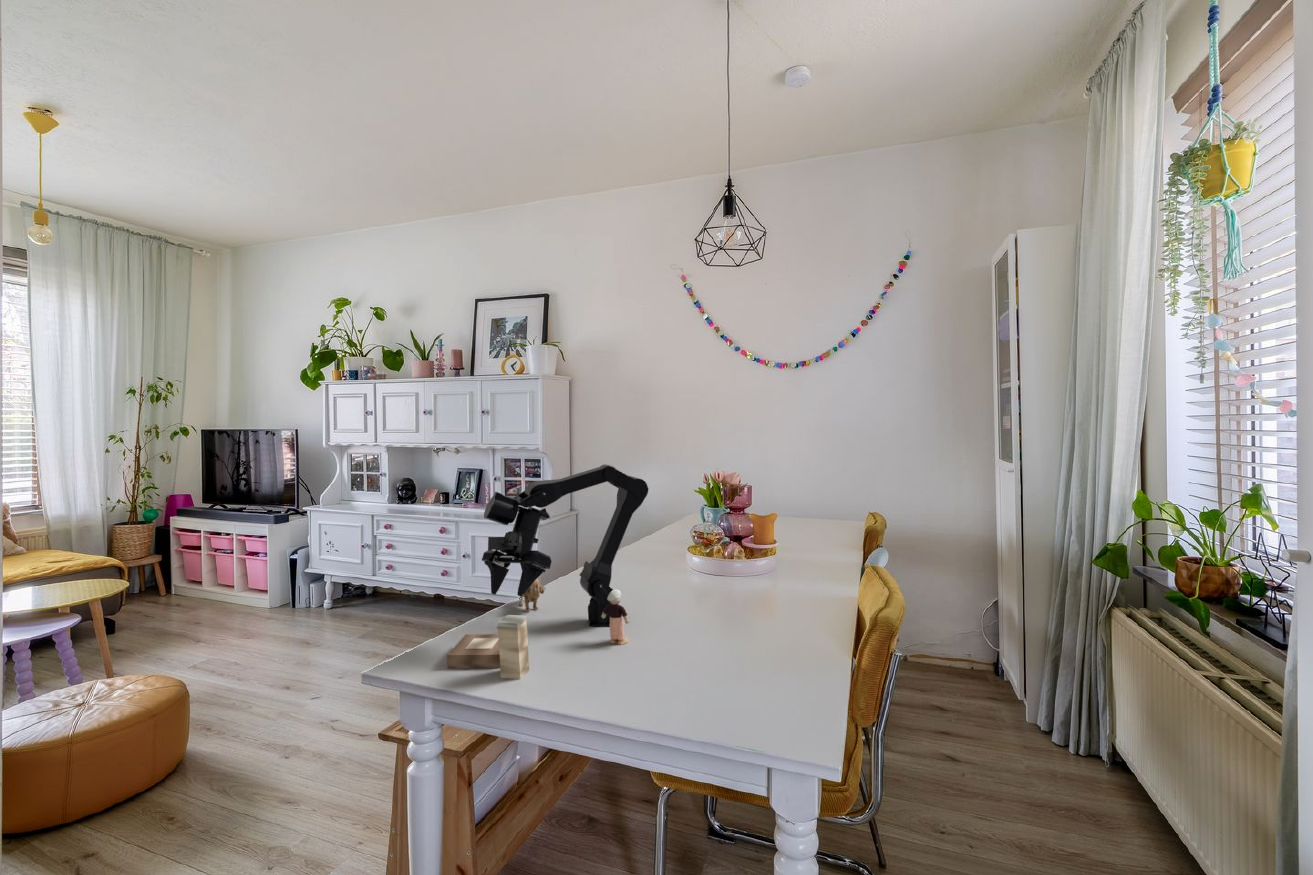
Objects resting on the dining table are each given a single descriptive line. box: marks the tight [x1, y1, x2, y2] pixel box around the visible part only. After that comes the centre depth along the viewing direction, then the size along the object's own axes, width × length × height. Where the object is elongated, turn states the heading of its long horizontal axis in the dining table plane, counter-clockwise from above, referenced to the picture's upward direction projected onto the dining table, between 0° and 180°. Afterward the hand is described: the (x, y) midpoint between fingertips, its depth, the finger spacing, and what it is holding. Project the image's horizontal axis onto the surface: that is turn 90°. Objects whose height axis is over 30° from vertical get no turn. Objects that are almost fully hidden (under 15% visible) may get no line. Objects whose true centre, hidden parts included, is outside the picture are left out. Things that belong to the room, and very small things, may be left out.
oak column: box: [496, 614, 530, 680], centre depth 141 cm, size 5×5×12 cm
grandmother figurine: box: [601, 589, 630, 646], centre depth 157 cm, size 8×4×13 cm, turn 71°
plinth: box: [446, 633, 500, 669], centre depth 151 cm, size 12×12×3 cm
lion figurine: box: [518, 579, 547, 614], centre depth 184 cm, size 15×5×9 cm, turn 34°
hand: (506, 594), depth 154 cm, fingers open, 9 cm apart
